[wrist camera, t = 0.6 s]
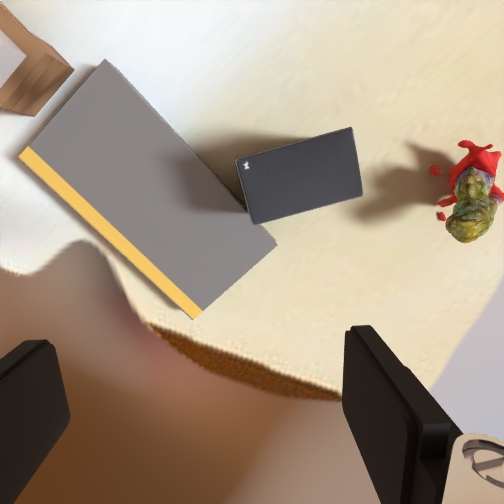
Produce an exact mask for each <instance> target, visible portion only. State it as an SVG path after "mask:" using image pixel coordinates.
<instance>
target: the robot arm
mask: <svg viewBox="0 0 504 504" xmlns="http://www.w3.org/2000/svg"><path fill="white" fill-rule="evenodd" d="M342 406H343V411H344V414H345V417H346V419H347V422H348V424H349V427H350V429H351V431H352V434H353V436H354V439H355V441H356V443H357V446H358V448H359V451H360V453H361V456H362V458H363V461H364V463H365V465H366V468H367V470H368V473H369V475H370V478H371V480H372V482H373V485H374V487H375V490H376V492H377V495H378V497H379V500H380V502H381V504H504V442H503V441H501V440H499V439H497V438H494V437H490V436H487V435H484V434H476V433H470V434H463V433H462V432H461V431H460V429H459V428H458V427H457V426H456V424H455V423H454V422H453V421H452V420H451V418H450V417H449V416H448V415H447V414H446V412H445V411H444V410H443V409H442V408H441V406H440V405H439V404H438V403H437V402H436V400H435V399H434V398H433V397H432V396H431V394H430V393H429V392H428V391H427V390H426V388H425V387H424V386H423V385H422V384H421V382H420V381H419V380H418V379H417V378H416V376H415V375H414V374H413V373H412V372H411V370H410V369H409V368H407V367H406V366H404V365H403V364H402V363H401V362H400V360H399V359H398V358H397V357H396V356H395V354H394V353H393V352H392V351H391V349H390V348H389V347H388V346H387V345H386V343H385V342H384V341H383V340H382V338H381V337H380V336H379V335H378V334H377V332H376V331H375V330H374V329H373V327H372V326H370V325H361V326H352V327H351V329H350V331H346V332H345V345H344V367H343V389H342ZM69 420H70V411H69V407H68V403H67V398H66V394H65V389H64V385H63V380H62V376H61V372H60V367H59V363H58V358H57V355H56V350H55V347H54V345H52V344H50V342H49V341H48V340H26V341H24V342H22V343H21V344H20V345H18V346H17V347H16V348H15V349H13V350H12V351H11V352H9V353H8V354H7V355H5V356H4V357H3V358H1V359H0V504H13V503H14V502H15V501H16V499H17V498H18V496H19V495H20V493H21V492H22V490H23V489H24V488H25V486H26V485H27V483H28V482H29V480H30V479H31V478H32V476H33V475H34V473H35V472H36V471H37V469H38V468H39V466H40V465H41V463H42V462H43V460H44V459H45V458H46V456H47V455H48V453H49V451H50V450H51V449H52V448H53V446H54V445H55V443H56V442H57V440H58V439H59V437H60V436H61V435H62V433H63V432H64V430H65V429H66V427H67V426H68V423H69Z"/></svg>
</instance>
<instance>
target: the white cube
mask: <svg viewBox="0 0 504 504" xmlns="http://www.w3.org/2000/svg"><path fill="white" fill-rule="evenodd" d="M25 57H26V55H25V54H24V53H23V52H22V51H21V50H20V49H19V48H18V47H17V46H16V45H15V44H14V43H13V41H12V40H11V39H10V38H9V37H8V36H7V35H6V34H5V33H4V32H3V31H2V30H1V29H0V88H1V87H2V85H3V84H4V83H5V82H6V81H7V79H8V78H9V77H10V76H11V74H12V73H13V72H14V71H15V70H16V68H17V67H18V66H19V65H20V63H21V62H22V61H23V60H24V59H25Z"/></svg>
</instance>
